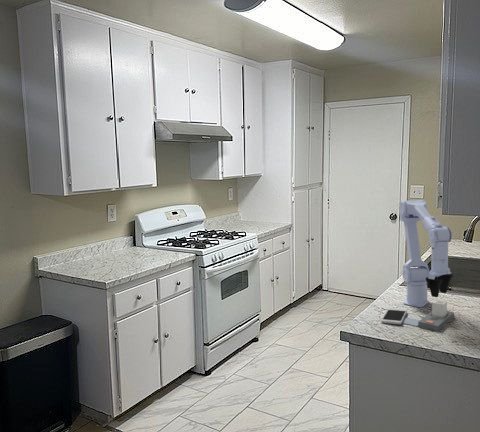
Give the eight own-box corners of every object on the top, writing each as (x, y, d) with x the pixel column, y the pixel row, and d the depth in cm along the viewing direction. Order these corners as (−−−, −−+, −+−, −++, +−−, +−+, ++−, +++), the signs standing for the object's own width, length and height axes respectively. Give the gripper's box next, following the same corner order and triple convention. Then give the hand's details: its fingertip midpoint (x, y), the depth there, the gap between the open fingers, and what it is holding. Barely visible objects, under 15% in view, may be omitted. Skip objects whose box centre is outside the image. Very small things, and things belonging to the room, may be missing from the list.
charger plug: (435, 317, 174) (436, 299, 173) (446, 319, 171) (447, 301, 170) (432, 320, 171) (432, 301, 170) (442, 322, 168) (443, 304, 167)
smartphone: (407, 311, 179) (407, 309, 179) (400, 324, 165) (400, 322, 165) (388, 310, 182) (388, 307, 182) (381, 322, 169) (381, 320, 169)
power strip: (435, 313, 178) (435, 307, 177) (453, 317, 173) (454, 311, 173) (418, 326, 164) (418, 320, 164) (437, 331, 160) (438, 325, 159)
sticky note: (406, 318, 173) (406, 317, 173) (423, 321, 169) (423, 321, 169) (400, 322, 169) (400, 322, 169) (417, 326, 164) (417, 326, 164)
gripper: (442, 263, 160) (441, 300, 161) (458, 257, 170) (457, 292, 171) (423, 261, 165) (422, 297, 166) (439, 255, 175) (438, 289, 176)
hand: (439, 294), depth 169 cm, fingers open, 7 cm apart
